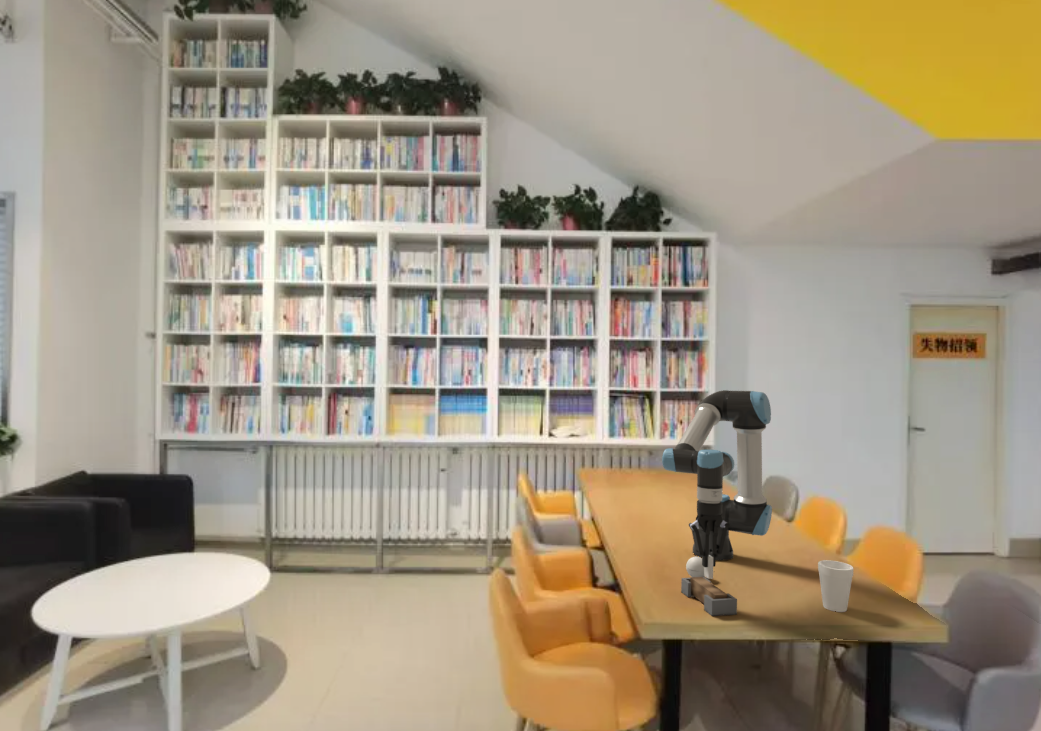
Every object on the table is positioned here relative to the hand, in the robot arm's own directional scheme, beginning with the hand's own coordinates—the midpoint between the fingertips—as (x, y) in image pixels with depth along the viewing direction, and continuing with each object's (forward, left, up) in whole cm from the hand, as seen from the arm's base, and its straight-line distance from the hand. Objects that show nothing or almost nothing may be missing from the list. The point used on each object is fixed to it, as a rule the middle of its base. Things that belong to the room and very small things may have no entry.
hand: (708, 577), depth 183 cm
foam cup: (+10, +37, -8) cm, 39 cm away
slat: (+1, 0, -7) cm, 7 cm away
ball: (-19, +8, -8) cm, 22 cm away
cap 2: (+8, 0, -8) cm, 11 cm away
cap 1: (-7, 0, -8) cm, 10 cm away
